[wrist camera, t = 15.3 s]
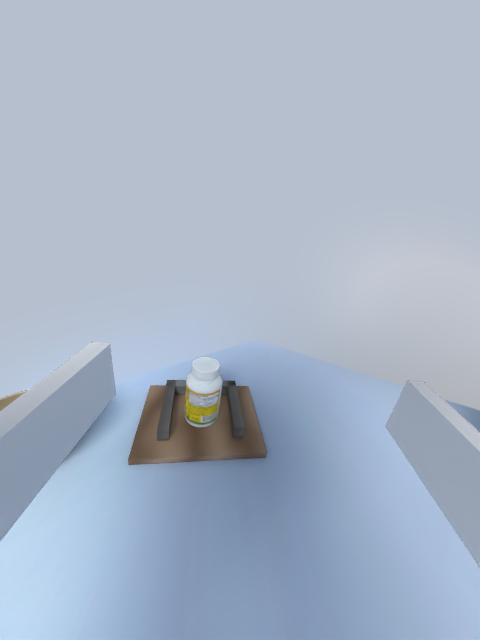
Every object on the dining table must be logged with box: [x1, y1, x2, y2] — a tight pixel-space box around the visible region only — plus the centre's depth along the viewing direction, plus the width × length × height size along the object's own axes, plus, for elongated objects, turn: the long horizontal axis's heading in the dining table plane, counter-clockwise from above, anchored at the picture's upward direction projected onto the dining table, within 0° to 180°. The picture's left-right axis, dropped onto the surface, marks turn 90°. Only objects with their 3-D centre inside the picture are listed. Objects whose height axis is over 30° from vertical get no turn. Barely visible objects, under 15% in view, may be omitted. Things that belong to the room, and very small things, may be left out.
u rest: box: [128, 380, 267, 465], centre depth 36 cm, size 18×14×3 cm
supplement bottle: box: [185, 357, 223, 427], centre depth 35 cm, size 5×5×10 cm
